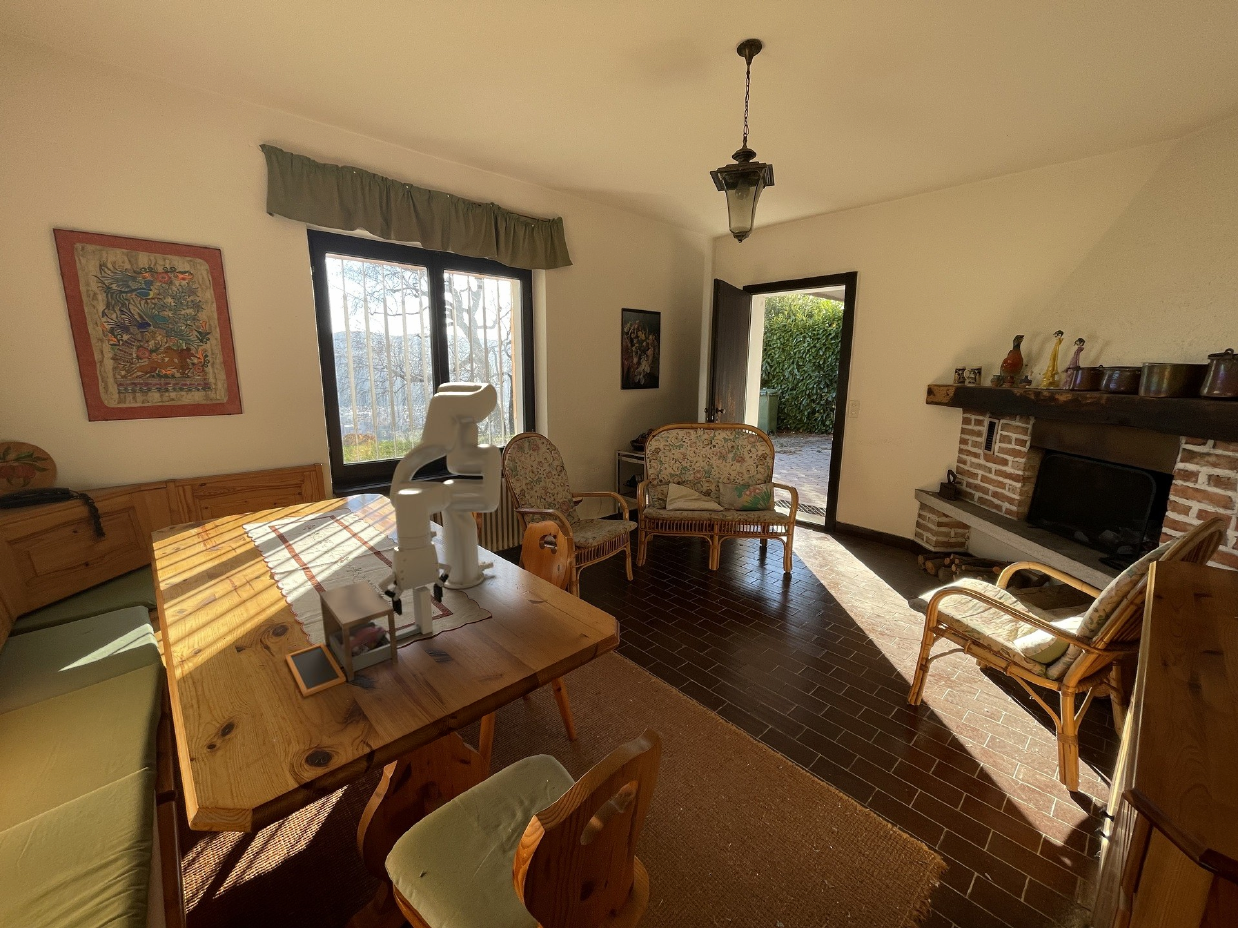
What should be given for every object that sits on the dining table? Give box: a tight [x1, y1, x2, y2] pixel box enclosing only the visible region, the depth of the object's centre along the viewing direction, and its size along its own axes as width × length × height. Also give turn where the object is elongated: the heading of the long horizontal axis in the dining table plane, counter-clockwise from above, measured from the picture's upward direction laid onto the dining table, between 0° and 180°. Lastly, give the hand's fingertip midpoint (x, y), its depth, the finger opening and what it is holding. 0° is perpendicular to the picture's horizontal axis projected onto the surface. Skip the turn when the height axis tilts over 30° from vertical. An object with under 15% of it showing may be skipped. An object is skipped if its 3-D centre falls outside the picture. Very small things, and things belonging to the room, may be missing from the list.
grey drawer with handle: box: [329, 585, 434, 673], centre depth 116 cm, size 20×14×11 cm
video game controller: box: [341, 625, 388, 657], centre depth 113 cm, size 10×5×7 cm, turn 148°
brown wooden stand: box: [319, 580, 399, 682], centre depth 112 cm, size 10×18×13 cm, turn 43°
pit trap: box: [284, 642, 347, 698], centre depth 107 cm, size 8×18×1 cm, turn 43°
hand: (418, 606), depth 121 cm, fingers open, 9 cm apart
